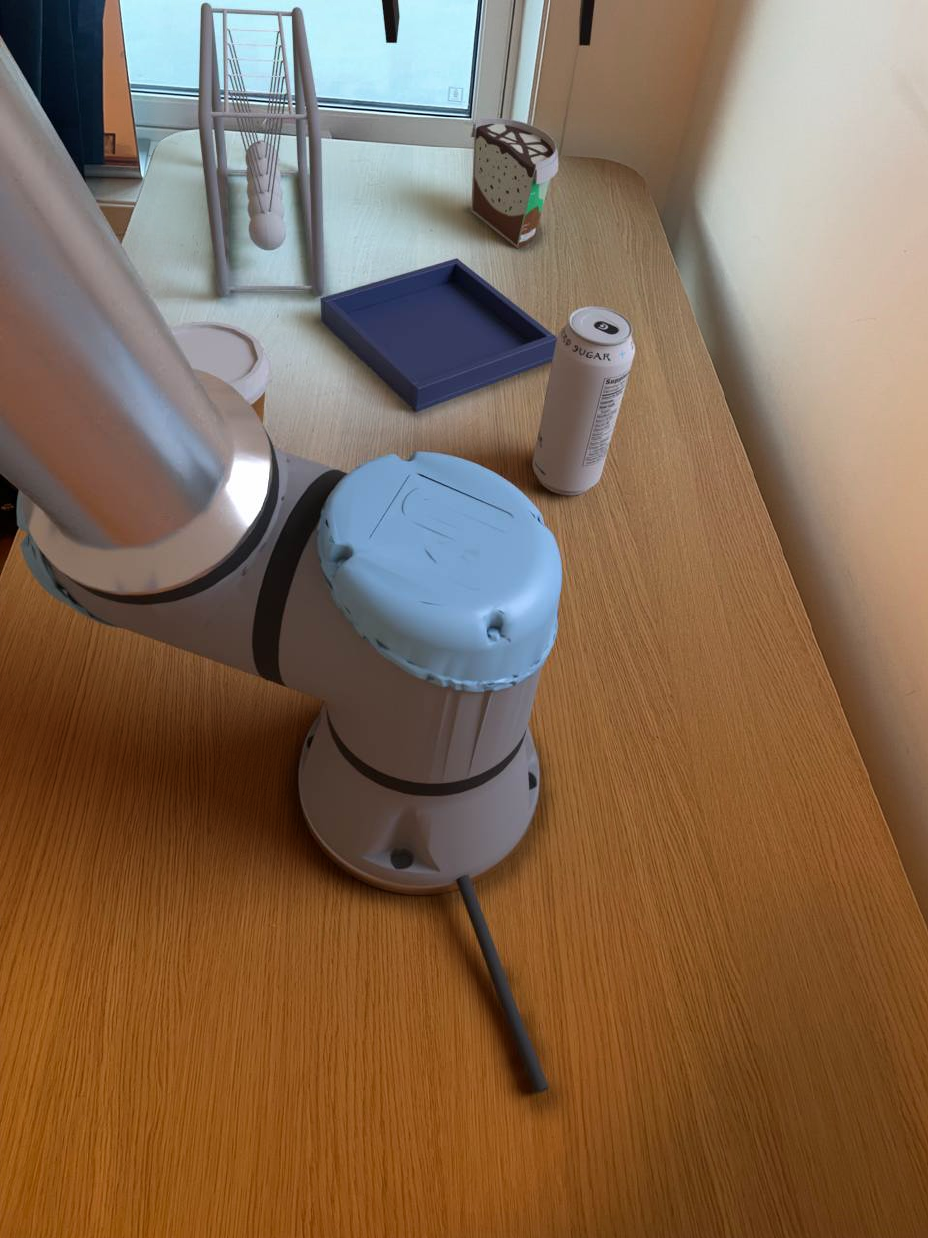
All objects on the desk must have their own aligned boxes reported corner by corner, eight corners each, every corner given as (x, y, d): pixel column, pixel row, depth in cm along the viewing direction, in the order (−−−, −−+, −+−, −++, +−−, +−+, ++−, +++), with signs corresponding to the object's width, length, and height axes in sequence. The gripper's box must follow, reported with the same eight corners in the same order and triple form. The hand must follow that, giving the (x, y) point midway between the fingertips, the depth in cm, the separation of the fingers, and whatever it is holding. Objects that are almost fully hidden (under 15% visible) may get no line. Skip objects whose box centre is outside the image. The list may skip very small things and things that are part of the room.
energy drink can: (551, 444, 84) (584, 293, 73) (611, 472, 82) (653, 322, 71) (517, 479, 81) (546, 326, 69) (578, 509, 79) (618, 357, 67)
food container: (567, 243, 108) (584, 154, 100) (525, 254, 105) (539, 164, 98) (505, 195, 114) (516, 108, 106) (464, 205, 111) (472, 117, 104)
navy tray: (553, 360, 93) (558, 337, 91) (415, 412, 85) (417, 388, 83) (454, 280, 100) (457, 257, 98) (320, 321, 93) (320, 297, 91)
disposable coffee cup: (256, 530, 74) (243, 406, 65) (140, 505, 74) (111, 378, 65) (294, 455, 80) (288, 332, 71) (187, 433, 80) (167, 307, 71)
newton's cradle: (325, 305, 95) (321, 121, 81) (218, 306, 93) (197, 118, 80) (306, 168, 114) (301, 0, 100) (218, 166, 112) (200, -5, 98)
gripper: (736, -417, 48) (663, -4, 67) (251, -414, 49) (319, -8, 68) (746, -335, 45) (667, 70, 65) (231, -334, 46) (308, 65, 66)
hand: (488, 31), depth 66 cm, fingers open, 13 cm apart
